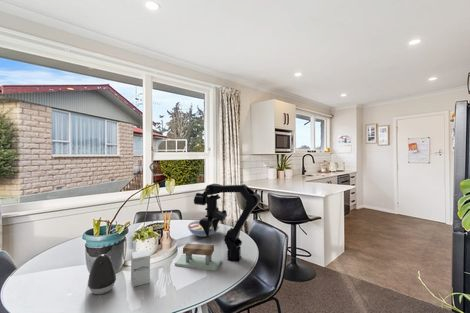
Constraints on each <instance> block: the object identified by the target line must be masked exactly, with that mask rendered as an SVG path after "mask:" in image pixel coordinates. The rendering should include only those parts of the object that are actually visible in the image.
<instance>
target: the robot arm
mask: <svg viewBox="0 0 470 313" xmlns="http://www.w3.org/2000/svg"><path fill="white" fill-rule="evenodd" d="M221 193H240V194H241V195H242V197H243V198H244V200H246V201H245V206H244V209H243V211H242V212H241V214H240V216H239V218H238V219H237V221H236V223H235V225H234V227H231V228H229V229H228V230H227V232H226V234H225V235H224V240H223V241H224V244H225V245H226V249H227V253H226V254H227V261H231V262H240V260H241V259H242V255H241V252H242V251H241V250H242V247H241V246H242V244H243V241H242V240H241V239H240V236H241V235H240V234H241V231H242V229H243V227H244V225H245V224H246V222H247V220H248V219H249V217H250V215H251V213H252V211H253V210H254V209H255V208H256V207H257V206H258V205H260V203H261V201H262V197H261V195H260V194H259V193H256V192H255V191H254V190H253V189H252V188H250V187H248V186H247V184H244V183H243V184H229V185H227V184H226V185H225V184H219V183H211V184H207V185H206V187H205V189H204V191H203V193H202V192H196V193H195V196H194V197H193V204H194V205H197V206H205V205H206V207H205V209H204V210H205V211H206V215H204V216H205V217H203V218H201V219H200V221H199V225H201V226H202V228H203V229H204V231H205V233H206V235H207V237H210V235H209V231H210V227H211V226H212V224H213V228H214V231H216V229H217V226H218V223H219V222H224V221H225V220H226V218H227V217H228V213H227V210H226V209H223V210H219V207H218V200H221V196H220V195H219V194H221ZM219 224H220V223H219ZM216 232H217V231H216Z"/></svg>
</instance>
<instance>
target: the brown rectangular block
mask: <svg viewBox="0 0 470 313" xmlns="http://www.w3.org/2000/svg"><path fill="white" fill-rule="evenodd" d="M214 251H215V245H214V244H201V243H189V242H187V243H185V244H184V246H183V247H182V255H186V254H192V255H194V256H197V255H198V256H206V255H208V256H211V257H212V255H213V253H214Z"/></svg>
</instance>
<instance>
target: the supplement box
mask: <svg viewBox="0 0 470 313" xmlns="http://www.w3.org/2000/svg"><path fill="white" fill-rule="evenodd" d="M150 267H151V255H150V252H149V249H144V250H137V251H133V252H130V281H131V286H132V287H131V288H134V287H137V286H141V285H142V286H143V285H145V284H150V282H151V269H150Z"/></svg>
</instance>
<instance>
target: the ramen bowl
mask: <svg viewBox="0 0 470 313" xmlns="http://www.w3.org/2000/svg"><path fill="white" fill-rule="evenodd" d="M200 220H201V219H200ZM200 220H199V219H198V220H193V221H191V222H188V223H187V225H186V227H187V229H188V230H189V231H190V233H191V234H192V235H194V236H197V237H200V238H207V237H208V236H207V235H206V233H205V231H204V229H203V228H202V226H201V225H199V221H200ZM220 226H221V224H220V223H218V226H217V229H216V231H214V228H213V224H212V226H211V227H210V231H209V236H212V235H214V234H215V233H216V232H217V231H218V230H219V228H220Z"/></svg>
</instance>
